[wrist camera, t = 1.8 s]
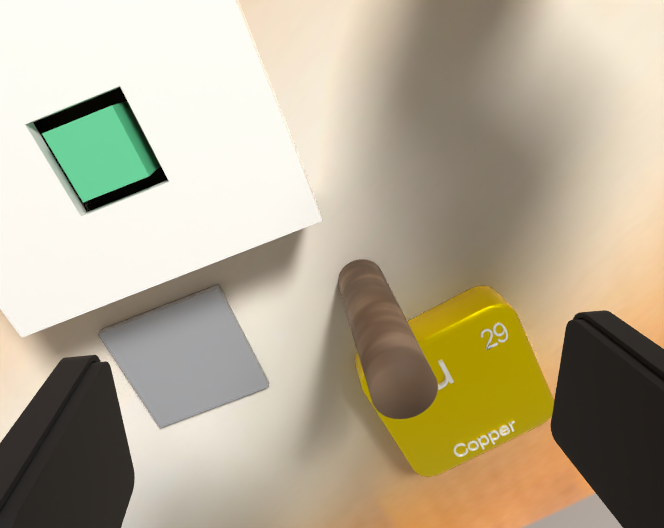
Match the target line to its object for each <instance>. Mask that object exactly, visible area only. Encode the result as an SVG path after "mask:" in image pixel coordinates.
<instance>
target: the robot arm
mask: <svg viewBox="0 0 664 528" xmlns="http://www.w3.org/2000/svg"><path fill="white" fill-rule="evenodd" d="M551 431H552V435H553V437H554V440H555V441H556V443H557V444H558V445H559V447H560V448H561V449H562V450H563V452H564V453H565V454H566V456H567V457H568V458H569V459H570V461H571V462H572V463H573V464H574V466H575V467H576V468H577V470H578V471H579V472H580V473H581V475H582V476H583V477H584V478H585V480H586V481H587V482H588V484H589V485H590V486H591V487H592V489H593V490H594V491H595V492H596V494H597V495H598V496H599V498H600V499H601V500H602V501H603V502H604V504H605V505H606V506H607V508H608V509H609V510H610V512H611V513H612V514H613V515H614V516H615V518H616V519H617V520H618V522H619V523H620V524H621V526H622V527H623V528H664V349H663V348H661V347H660V346H658V345H657V344H655V343H654V342H653V341H651V340H650V339H648V338H647V337H645V336H644V335H642V334H641V333H640V332H638V331H637V330H635V329H634V328H632V327H631V326H629V325H628V324H627V323H625V322H624V321H622V320H621V319H619V318H618V317H616V316H615V315H614V314H612V313H611V312H609V311H593V312H581V313H578V314H576V315H575V317H574V318H573V320H571V321H569V322H568V324H567V326H566V331H565V338H564V344H563V350H562V356H561V363H560V369H559V375H558V382H557V388H556V394H555V400H554V407H553V413H552V419H551ZM133 488H134V468H133V464H132V459H131V455H130V451H129V446H128V442H127V437H126V433H125V429H124V424H123V420H122V415H121V411H120V406H119V402H118V398H117V393H116V389H115V384H114V380H113V375H112V371H111V367H110V365H109V363H108V362H100V359H99V358H98V356H96V355H90V356H78V357H67V358H63V359H62V360H61V361H60V362H59V363H58V365H57V366H56V367H55V369H54V370H53V372H52V373H51V374H50V376H49V377H48V378H47V380H46V381H45V383H44V384H43V385H42V387H41V388H40V389H39V391H38V392H37V393H36V395H35V396H34V398H33V399H32V400H31V402H30V403H29V404H28V406H27V407H26V409H25V410H24V411H23V413H22V414H21V415H20V417H19V418H18V420H17V421H16V422H15V424H14V425H13V426H12V428H11V429H10V431H9V432H8V433H7V435H6V436H5V437H4V439H3V440H2V442H1V443H0V528H121V525H122V522H123V519H124V516H125V513H126V510H127V507H128V504H129V501H130V498H131V495H132V492H133Z"/></svg>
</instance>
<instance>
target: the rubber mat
mask: <svg viewBox="0 0 664 528" xmlns="http://www.w3.org/2000/svg"><path fill="white" fill-rule="evenodd" d="M98 335H99V337H100V338H101V340H102V341H103V343H104V344H105V346H106V347H107V349H108V350H109V352H110V353H111V355H112V356H113V358H114V359H115V361H116V362H117V364H118V365H119V367H120V368H121V370H122V371H123V373H124V374H125V376H126V377H127V379H128V380H129V382H130V383H131V385H132V386H133V388H134V389H135V391H136V392H137V394H138V395H139V397H140V399H141V400H142V402H143V403H144V405H145V406H146V408H147V409H148V411H149V412H150V414H151V415H152V417H153V418H154V420H155V421H156V423H157V424H158V426H159V427H160V428H162V427H165V426H167V425H170V424H172V423H175V422H178V421H180V420H183V419H186V418H188V417H191V416H194V415H196V414H199V413H202V412H204V411H207V410H210V409H212V408H215V407H218V406H220V405H223V404H226V403H228V402H231V401H234V400H236V399H239V398H241V397H244V396H247V395H249V394H252V393H255V392H257V391H260V390H263V389H265V388H268V387H269V381H268V379H267V377H266V375H265V373H264V371H263V369H262V367H261V366H260V364H259V362H258V360H257V358H256V356H255V354H254V352H253V350H252V348H251V346H250V344H249V342H248V340H247V338H246V337H245V335H244V333H243V331H242V329H241V327H240V325H239V323H238V321H237V319H236V317H235V315H234V313H233V311H232V309H231V308H230V306H229V304H228V302H227V300H226V298H225V296H224V294H223V292H222V290H221V288H220V286H219V284H218V285H216V286H213V287H210V288H208V289H205V290H203V291H200V292H197V293H195V294H192V295H190V296H187V297H185V298H182V299H179V300H177V301H174V302H172V303H169V304H166V305H164V306H161V307H159V308H156V309H153V310H151V311H148V312H146V313H143V314H141V315H138V316H135V317H133V318H130V319H128V320H125V321H122V322H120V323H117V324H115V325H112V326H110V327H107V328H104V329H102V330H101V331H100V332H99V334H98Z"/></svg>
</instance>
